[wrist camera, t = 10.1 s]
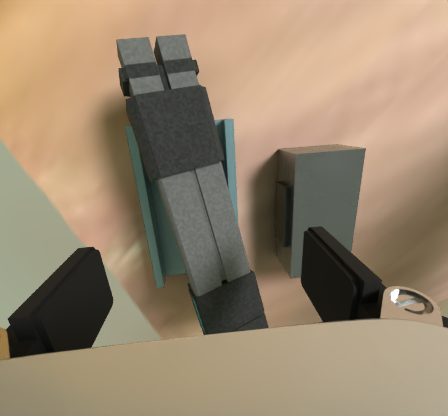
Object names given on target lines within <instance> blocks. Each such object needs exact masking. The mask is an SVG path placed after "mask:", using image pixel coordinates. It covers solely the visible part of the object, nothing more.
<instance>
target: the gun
mask: <svg viewBox="0 0 448 416" xmlns="http://www.w3.org/2000/svg"><path fill="white" fill-rule="evenodd" d="M116 41H117V51H118V58H119V61H120V64H121V67H122V68H118V69H119V78H120V86H121V89H122V92H123V95H124V96H129V97H131V98H130V99H126V111H127V114H128V117H129V120H130V123H131V126H132V129H133V132H134V135H135V138H136V141H137V144H138V147H139V150H140V153H141V156H142V159H143V162H144V165H145V168H146V172H147V175H148V178H149V181H152V180H156V182H157V185H158V188H159V191H160V194H161V198H162V201H163V204H164V207H165V210H166V213H167V216H168V219H169V222H170V225H171V228H172V231H173V234H174V237H175V240H176V243H177V246H178V250H179V253H180V256H181V259H182V262H183V265H184V268H185V271H186V274H187V277H188V280H189V284H188V286H189V292H190V295H191V298H192V301H193V304H194V307H195V310H196V313H197V316H198V319H199V322H200V326H201V328H202V331H203V334H204V335H211V334H220V333H229V332H238V331H247V330H256V329H265V328H268V324H267V320H266V316H265V314H264V308H263V304H262V300H261V296H260V293H259V289H258V285H257V281H256V278H255V274H254V272H253V271H252V270H250V267H249V264H248V260H247V256H246V253H245V249H244V245H243V241H242V238H241V234H240V230H239V227H238V223H237V219H236V215H235V212H234V208H233V204H232V200H231V197H230V193H229V189H228V186H227V182H226V178H225V174H224V171H223V167H222V163H221V161H224V160H225V159H224V155H223V151H222V148H221V144H220V140H219V136H218V133H217V129H216V125H215V121H214V118H213V114H212V110H211V106H210V102H209V99H208V95H207V91H206V87H202V86H201V85H199V83H198V80H197V74H198V73H199V69H198V65H197V61H196V60H192V57H191V54H190V50H189V46H188V43H187V39H186V35H172V36H158V37H156V43H155V49H154V54H153V51H152V47H151V44H150V41H149V37H145V38H131V39H118V40H116ZM154 55H155V58H156V61H155V58H154ZM156 62H157V64H156Z"/></svg>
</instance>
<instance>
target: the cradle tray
mask: <svg viewBox="0 0 448 416" xmlns="http://www.w3.org/2000/svg"><path fill="white" fill-rule="evenodd" d="M214 121H215V125H216V129H217V133H218V136H219V140H220V144H221V148H222V151H223V155H224V159H225V160H224V161H221V163H222V167H223V171H224V174H225V178H226V182H227V186H228V189H229V193H230V197H231V200H232V204H233V208H234V212H235V215H236V219H237V223H238V209H237V187H236V166H235V144H234V123H233V119H224V120H214ZM125 129H126V134H127V139H128V144H129V149H130V154H131V160H132V165H133V170H134V175H135V180H136V185H137V190H138V195H139V200H140V205H141V210H142V215H143V220H144V225H145V231H146V236H147V241H148V246H149V251H150V256H151V261H152V266H153V271H154V276H155V281H156V286H157V288H163V287H164V285H165V280H166V276H170V275H179V274H186V271H185V268H184V265H183V262H182V259H181V256H180V253H179V250H178V246H177V243H176V240H175V237H174V234H173V231H172V228H171V225H170V222H169V219H168V216H167V213H166V210H165V207H164V204H163V201H162V198H161V194H160V191H159V188H158V185H157V182H156V180H152V181H149V178H148V175H147V172H146V168H145V165H144V162H143V159H142V156H141V153H140V150H139V147H138V144H137V141H136V138H135V135H134V132H133V129H132V126H125Z"/></svg>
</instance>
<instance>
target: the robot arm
mask: <svg viewBox="0 0 448 416" xmlns="http://www.w3.org/2000/svg"><path fill="white" fill-rule="evenodd" d="M381 282H382V280H381V279H380V278H379V277H378V276H376V275H375V274H374V273H373V272H372V271H371V270H370V269H369V268H368V267H366V266H365V265H364V264H363V263H362V262H361V261H360V260H359V259H358V258H356V257H355V256H354V255H353V254H352V253H351V252H350V251H349V250H348V249H347V248H345V247H344V246H343V245H342V244H341V243H340V242H339V241H338V240H337V239H335V238H334V237H333V236H332V235H331V234H330V233H329V232H328V231H327V230H325V229H324V228H323V227H322V226H318V227H309V228H308V230H307V231H304V238H303V253H302V268H301V284H302V286H303V288H304V290H305V292H306V293H307V295H308V297H309V298H310V300H311V302H312V304H313V305H314V307H315V309H316V310H317V312H318V314H319V316H320V317H321V319H322V321H323V322H322V323H313V324H303V325H294V326H284V327H275V328H265V329H256V330H247V331H238V332H229V333H220V334H211V335H201V336H192V337H183V338H175V339H166V340H157V341H148V342H139V343H130V344H121V345H112V346H103V347H95V348H91V347H92V345H93V343H94V341H95V339H96V337H97V335H98V333H99V331H100V329H101V327H102V325H103V323H104V321H105V319H106V317H107V315H108V313H109V311H110V309H111V307H112V305H113V297H112V293H111V290H110V286H109V283H108V279H107V276H106V272H105V269H104V265H103V262H102V258H101V255H100V252H99V250H96V249H95V248H94V247H86V248H78V249H77V250H76V251H75V252H74V253H73V254H72V255H71V256H70V257H69V258H68V259H67V260H66V261H65V262H64V263H63V264H62V265H61V266H60V267H59V268H58V269H57V270H56V271H55V272H54V273H53V274H52V275H51V276H50V277H49V278H48V279H47V280H46V281H45V282H44V283H43V284H42V285H41V286H40V287H39V288H38V289H37V290H36V291H35V292H34V293H33V294H32V295H31V296H30V297H29V298H28V299H27V300H26V301H25V302H24V303H23V304H22V305H21V306H20V307H19V308H18V309H17V310H16V311H15V312H14V313H13V314H12V315H11V316H10V317H9V318H8V321H9V323H10V326H9V327H8V328H7V329H6V330H5V329H3V328H0V416H448V318H446V317H444V316H441V311H440V308H439V306H438V304H437V303H436V302H435V301H434V300H433V299H432V298H430V297H429V296H427V295H426V294H424V293H422V292H420V291H417V290H414V289H412V288H408V287H403V286H392V287H388V288H386V287H385V286H384V285H383V284H382V283H381Z"/></svg>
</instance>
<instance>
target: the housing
mask: <svg viewBox="0 0 448 416" xmlns="http://www.w3.org/2000/svg"><path fill="white" fill-rule="evenodd" d="M365 150H366V148H359V147H352V146H345V145H338V144H336V145H323V146H310V147H298V148H285V149H279V153H278V181H277V182H276V238H277V257H278V258H279V260H280V262H281V263H282V265H283V267H284V268H285V270H286V271H287V273H288V275H289V276H290V278H296V277H301V268H302V253H303V238H304V231H307V230H308V228H309V227H318V226H322V227H323V228H324V229H325V230H327V231H328V232H329V233H330V234H331V235H332V236H333V237H334V238H335V239H337V240H338V241H339V242H340V243H341V244H342V245H343V246H344V247H345V248H347V249H348V250H349V251H350V252H351V249H352V242H353V235H354V228H355V221H356V213H357V206H358V199H359V192H360V185H361V178H362V171H363V164H364V157H365Z"/></svg>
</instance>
